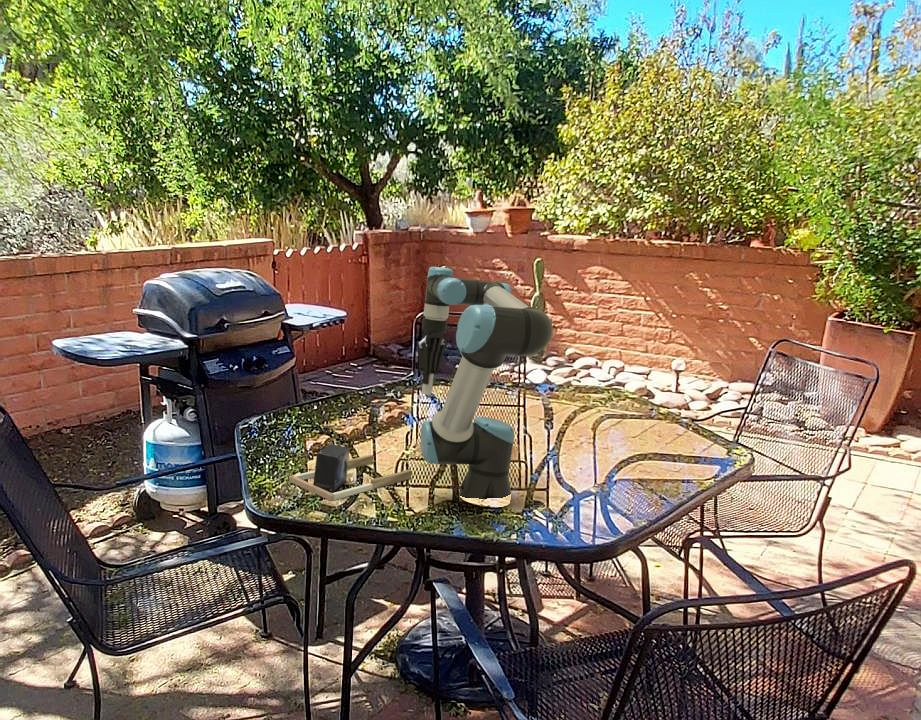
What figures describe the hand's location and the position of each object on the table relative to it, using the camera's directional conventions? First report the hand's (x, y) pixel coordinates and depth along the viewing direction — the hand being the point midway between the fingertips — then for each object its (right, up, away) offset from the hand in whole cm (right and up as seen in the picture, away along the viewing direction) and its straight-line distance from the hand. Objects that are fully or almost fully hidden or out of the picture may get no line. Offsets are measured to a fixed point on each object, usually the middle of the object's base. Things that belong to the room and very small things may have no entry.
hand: (426, 393), depth 230 cm
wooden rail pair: (-16, -24, -7) cm, 30 cm away
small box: (-26, -25, -20) cm, 41 cm away
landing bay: (-26, -25, -20) cm, 41 cm away
